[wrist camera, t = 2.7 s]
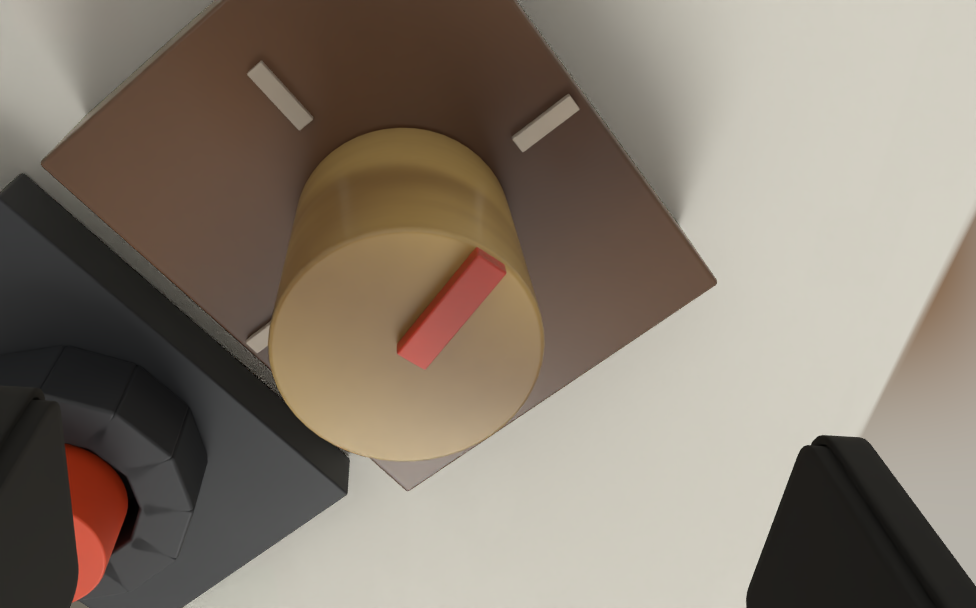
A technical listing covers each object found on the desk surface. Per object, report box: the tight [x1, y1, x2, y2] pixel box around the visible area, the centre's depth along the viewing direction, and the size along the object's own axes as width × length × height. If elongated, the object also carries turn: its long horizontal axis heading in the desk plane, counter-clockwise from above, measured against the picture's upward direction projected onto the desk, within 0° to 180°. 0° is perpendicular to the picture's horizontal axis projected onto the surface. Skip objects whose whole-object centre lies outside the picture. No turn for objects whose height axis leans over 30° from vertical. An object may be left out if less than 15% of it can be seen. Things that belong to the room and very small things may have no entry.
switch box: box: [0, 173, 350, 608], centre depth 22 cm, size 11×8×4 cm
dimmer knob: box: [268, 128, 545, 461], centre depth 16 cm, size 4×4×5 cm
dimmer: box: [41, 0, 717, 491], centre depth 20 cm, size 11×9×3 cm
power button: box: [65, 444, 128, 602], centre depth 20 cm, size 3×3×2 cm
